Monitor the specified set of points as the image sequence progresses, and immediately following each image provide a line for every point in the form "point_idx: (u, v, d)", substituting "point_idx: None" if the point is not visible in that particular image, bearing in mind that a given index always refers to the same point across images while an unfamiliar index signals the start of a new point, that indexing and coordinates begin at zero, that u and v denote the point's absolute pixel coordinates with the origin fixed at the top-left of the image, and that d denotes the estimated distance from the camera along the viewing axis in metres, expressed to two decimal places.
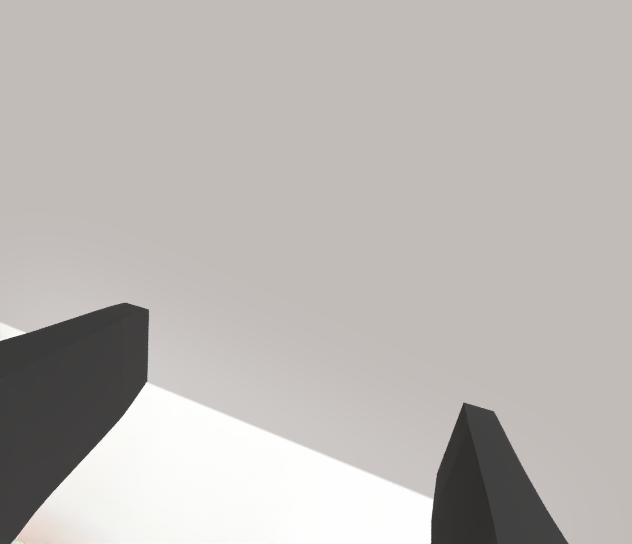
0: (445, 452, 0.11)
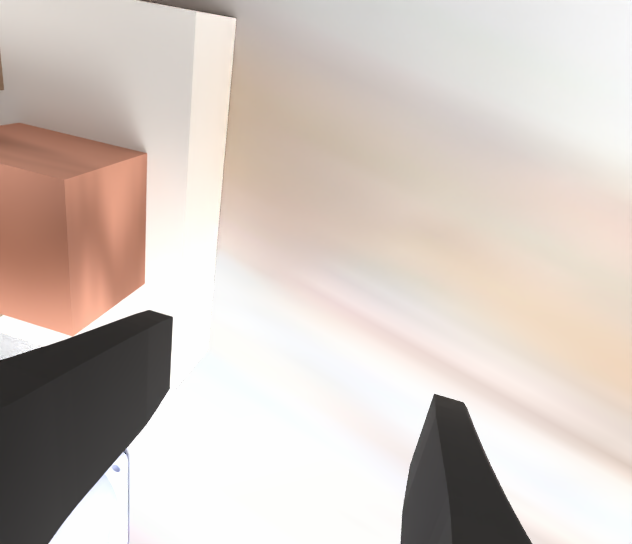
0: (417, 443, 0.11)
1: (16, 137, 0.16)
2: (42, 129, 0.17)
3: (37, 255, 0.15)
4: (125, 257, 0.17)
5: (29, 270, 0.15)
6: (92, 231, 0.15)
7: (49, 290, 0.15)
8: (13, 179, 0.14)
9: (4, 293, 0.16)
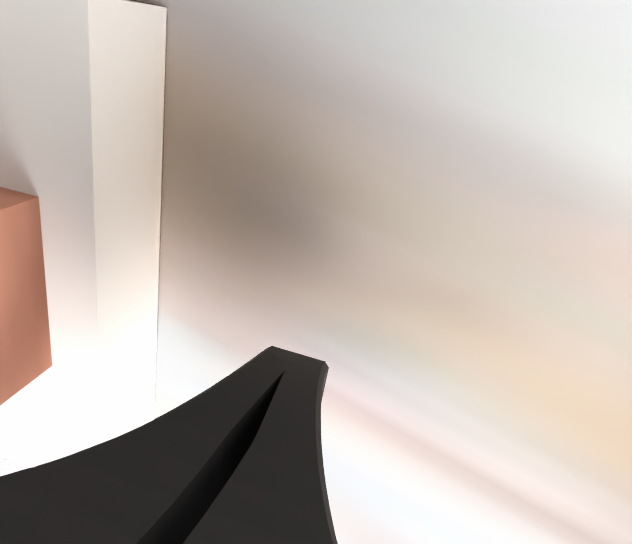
0: None
1: None
2: None
3: None
4: (11, 340, 0.12)
5: None
6: None
7: None
8: None
9: None
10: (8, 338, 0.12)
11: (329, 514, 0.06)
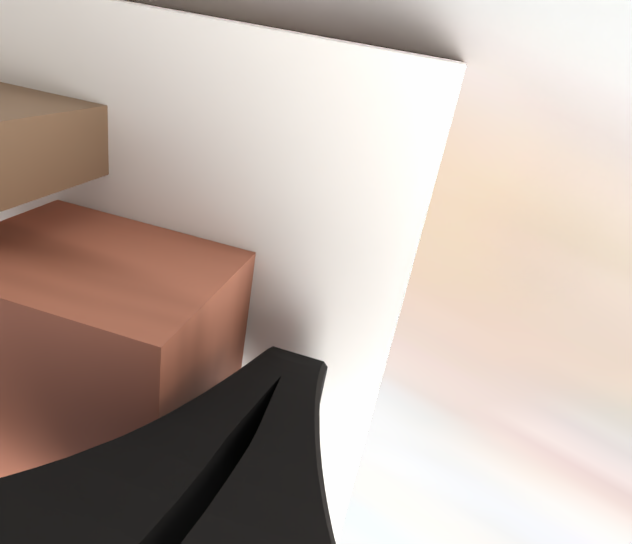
0: None
1: (59, 236, 0.10)
2: (93, 212, 0.12)
3: None
4: None
5: None
6: (188, 398, 0.09)
7: None
8: (68, 337, 0.08)
9: None
10: None
11: (328, 514, 0.06)
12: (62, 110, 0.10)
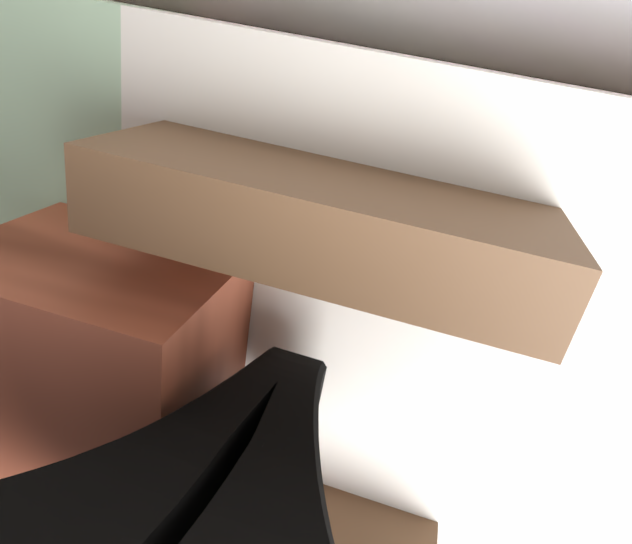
0: None
1: (62, 237, 0.10)
2: None
3: None
4: None
5: None
6: (191, 397, 0.09)
7: None
8: (71, 337, 0.08)
9: None
10: None
11: (326, 513, 0.06)
12: (568, 227, 0.08)
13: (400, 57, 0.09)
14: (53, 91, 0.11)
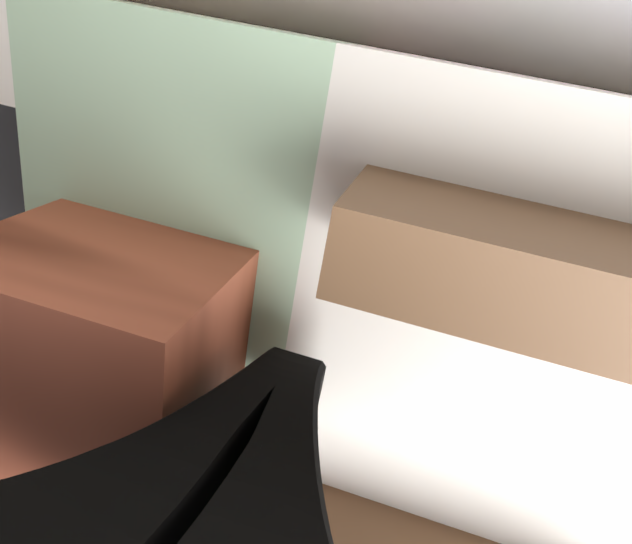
0: None
1: (63, 234, 0.10)
2: (97, 210, 0.12)
3: None
4: None
5: None
6: (192, 396, 0.09)
7: None
8: (73, 334, 0.08)
9: None
10: None
11: (325, 513, 0.06)
12: None
13: None
14: (241, 130, 0.10)
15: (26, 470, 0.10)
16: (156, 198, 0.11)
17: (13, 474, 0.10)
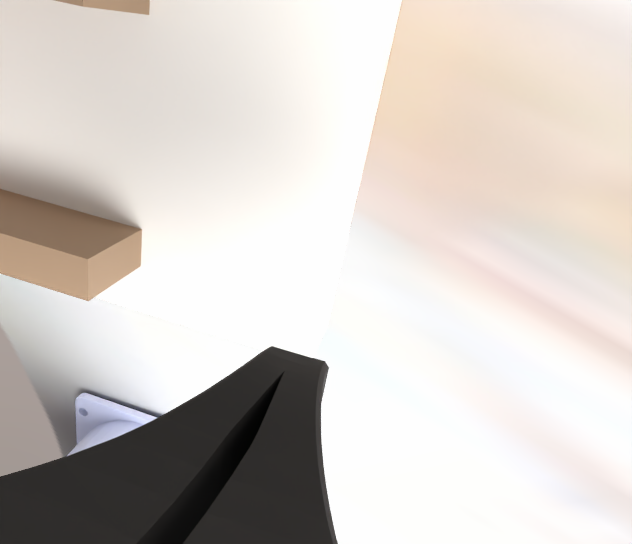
0: None
1: None
2: None
3: None
4: None
5: None
6: None
7: None
8: None
9: None
10: None
11: (329, 514, 0.06)
12: None
13: None
14: None
15: None
16: None
17: None
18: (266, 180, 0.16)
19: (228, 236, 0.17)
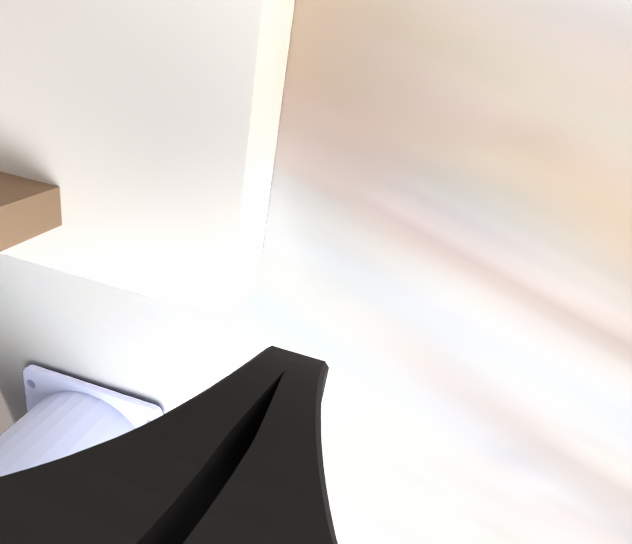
0: None
1: None
2: None
3: None
4: None
5: None
6: None
7: None
8: None
9: None
10: None
11: (329, 514, 0.06)
12: None
13: None
14: None
15: None
16: None
17: None
18: (171, 130, 0.16)
19: (141, 190, 0.18)
